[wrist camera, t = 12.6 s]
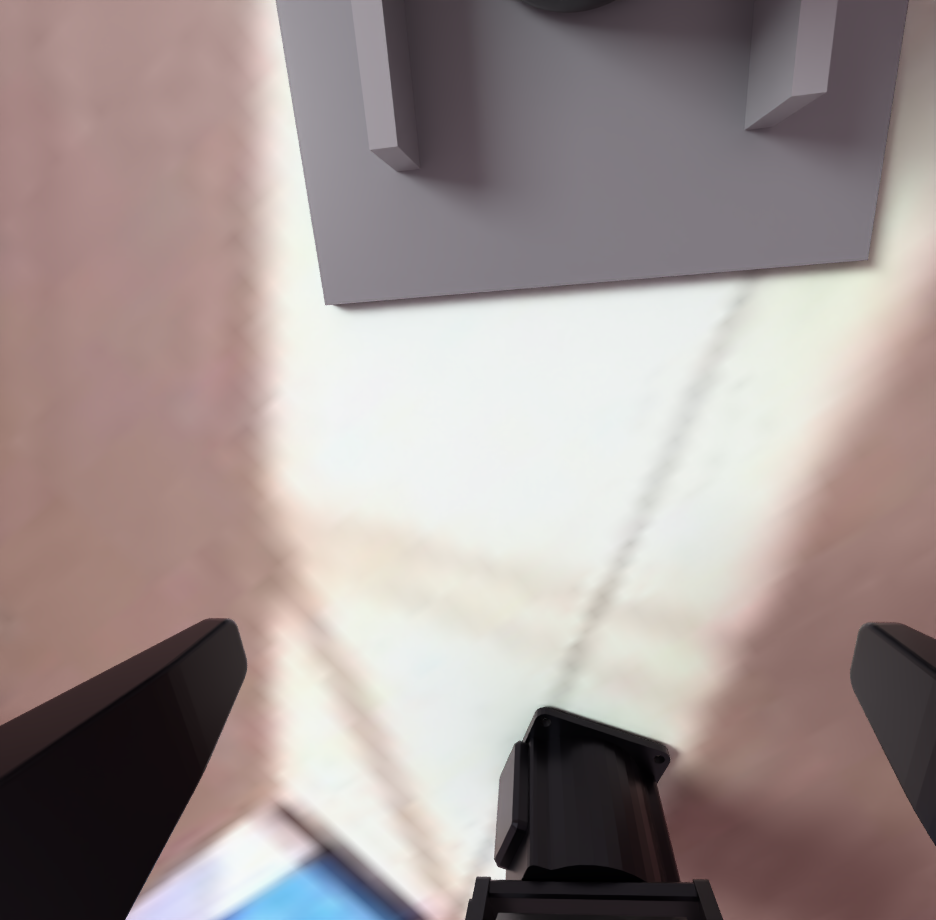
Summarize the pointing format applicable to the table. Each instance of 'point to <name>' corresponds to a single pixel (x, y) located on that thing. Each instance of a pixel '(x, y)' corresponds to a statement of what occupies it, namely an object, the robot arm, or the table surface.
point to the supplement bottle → (567, 5)
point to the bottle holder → (585, 138)
